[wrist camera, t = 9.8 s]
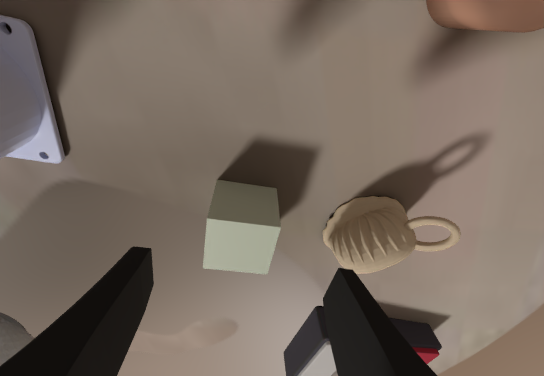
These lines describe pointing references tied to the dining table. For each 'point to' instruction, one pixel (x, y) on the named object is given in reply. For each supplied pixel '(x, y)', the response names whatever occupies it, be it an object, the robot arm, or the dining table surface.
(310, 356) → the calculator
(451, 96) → the dining table surface
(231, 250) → the sage block
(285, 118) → the dining table surface
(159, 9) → the dining table surface
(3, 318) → the cereal bowl
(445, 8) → the terracotta cylinder
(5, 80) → the robot arm
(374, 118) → the dining table surface
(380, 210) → the cream ribbed piece
